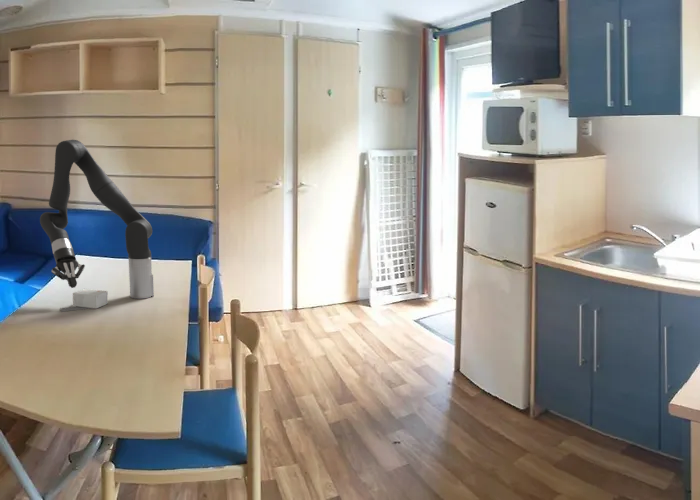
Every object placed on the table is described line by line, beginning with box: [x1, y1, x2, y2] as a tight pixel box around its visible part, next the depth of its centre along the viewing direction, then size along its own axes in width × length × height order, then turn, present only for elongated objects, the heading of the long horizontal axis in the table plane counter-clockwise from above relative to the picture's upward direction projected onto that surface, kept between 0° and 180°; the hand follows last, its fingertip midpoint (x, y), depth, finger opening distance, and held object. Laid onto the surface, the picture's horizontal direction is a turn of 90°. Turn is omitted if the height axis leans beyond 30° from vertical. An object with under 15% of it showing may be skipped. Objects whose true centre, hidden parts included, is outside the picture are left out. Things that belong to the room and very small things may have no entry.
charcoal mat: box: [60, 306, 92, 313], centre depth 227 cm, size 11×5×1 cm, turn 121°
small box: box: [72, 288, 109, 309], centre depth 231 cm, size 8×6×10 cm
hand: (73, 286), depth 230 cm, fingers closed
